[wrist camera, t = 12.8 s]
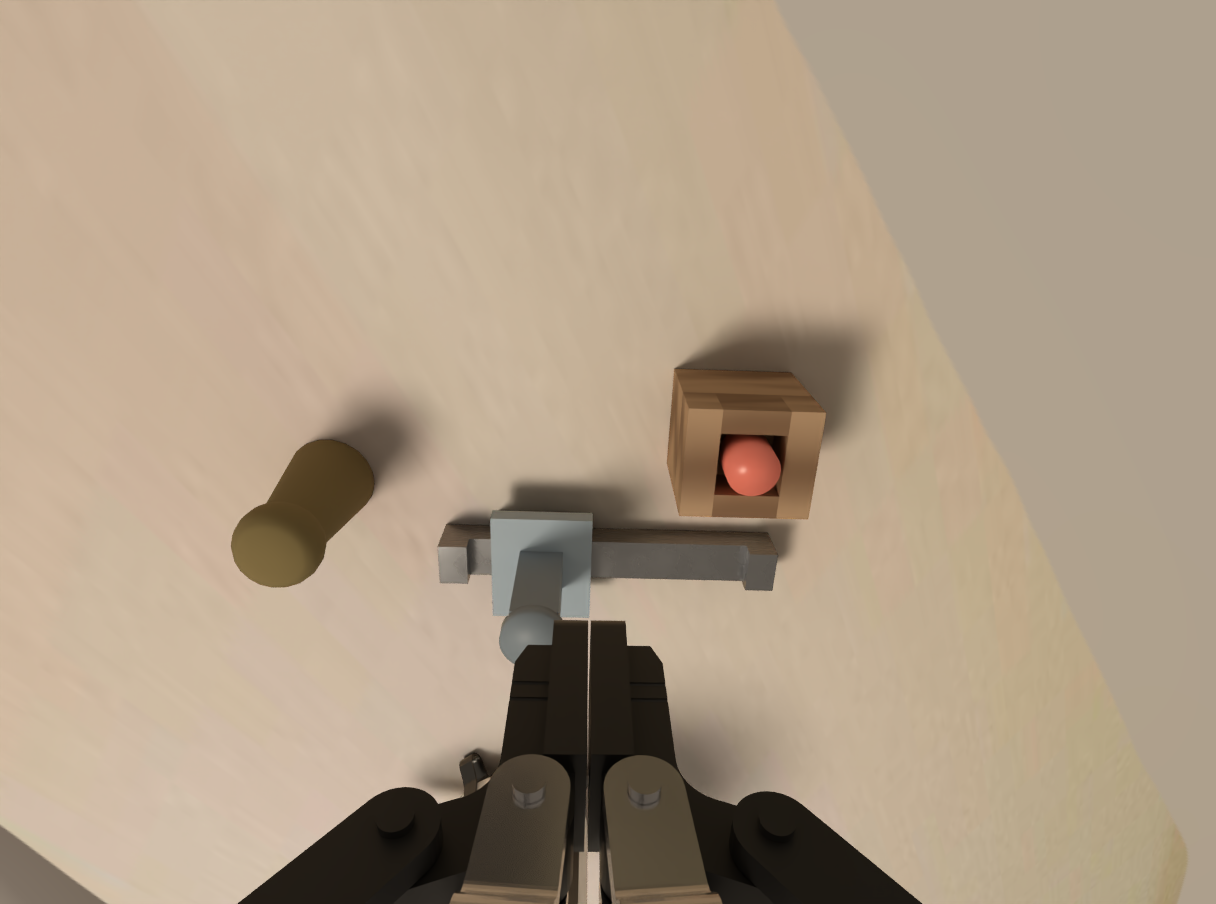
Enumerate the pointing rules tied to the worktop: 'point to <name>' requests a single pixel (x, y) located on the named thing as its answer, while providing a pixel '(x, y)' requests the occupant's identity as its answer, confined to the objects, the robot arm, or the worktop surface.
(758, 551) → the rail
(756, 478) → the button
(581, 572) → the carriage
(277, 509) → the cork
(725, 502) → the cabinet
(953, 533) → the worktop surface
